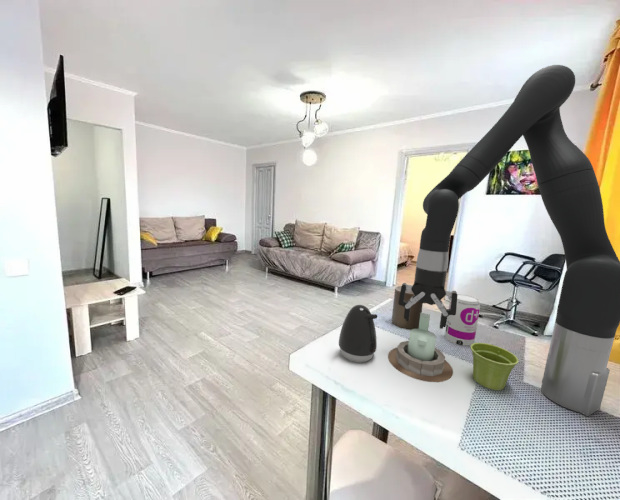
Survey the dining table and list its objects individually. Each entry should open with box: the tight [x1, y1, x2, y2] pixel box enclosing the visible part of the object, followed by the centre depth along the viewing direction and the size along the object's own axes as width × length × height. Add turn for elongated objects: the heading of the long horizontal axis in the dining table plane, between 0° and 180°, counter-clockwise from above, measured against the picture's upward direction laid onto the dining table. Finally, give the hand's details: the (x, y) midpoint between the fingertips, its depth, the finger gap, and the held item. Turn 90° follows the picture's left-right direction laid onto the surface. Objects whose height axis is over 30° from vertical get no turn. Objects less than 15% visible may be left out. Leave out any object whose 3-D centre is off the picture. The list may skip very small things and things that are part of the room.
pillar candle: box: [391, 285, 424, 331], centre depth 94 cm, size 10×10×15 cm
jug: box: [407, 312, 437, 361], centre depth 71 cm, size 11×6×12 cm, turn 155°
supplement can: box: [444, 293, 481, 347], centre depth 84 cm, size 8×8×15 cm
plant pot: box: [470, 342, 519, 391], centre depth 64 cm, size 9×9×9 cm
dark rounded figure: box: [338, 304, 378, 363], centre depth 72 cm, size 10×10×15 cm
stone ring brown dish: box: [387, 340, 454, 383], centre depth 71 cm, size 16×16×4 cm
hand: (423, 324), depth 74 cm, fingers open, 8 cm apart
